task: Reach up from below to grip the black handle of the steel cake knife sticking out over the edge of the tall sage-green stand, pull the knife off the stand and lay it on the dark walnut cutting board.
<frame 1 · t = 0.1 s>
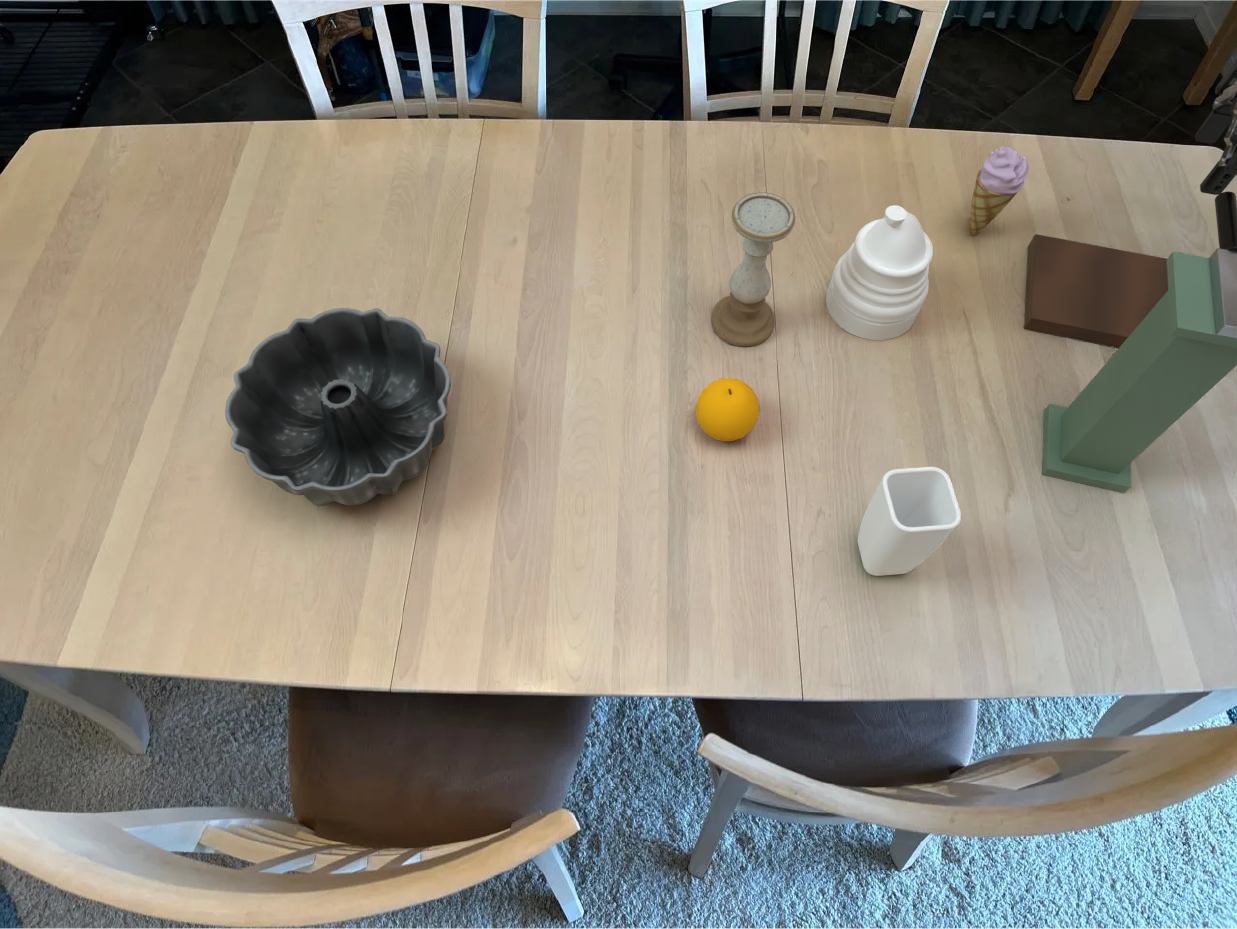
hand: (1206, 165, 95), 26 cm above the table, tool pointing down, fingers open, 8 cm apart
bundt pan: (361, 436, 109), on the table
cup: (882, 554, 101), on the table
candle holder: (742, 323, 118), on the table
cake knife: (1225, 260, 84), point 29 cm above the table, touching stand
cutting board: (1098, 300, 119), on the table
ice cream cone: (972, 231, 126), on the table
orange: (724, 424, 109), on the table
honey pot: (871, 304, 119), on the table
stand: (1083, 450, 107), on the table
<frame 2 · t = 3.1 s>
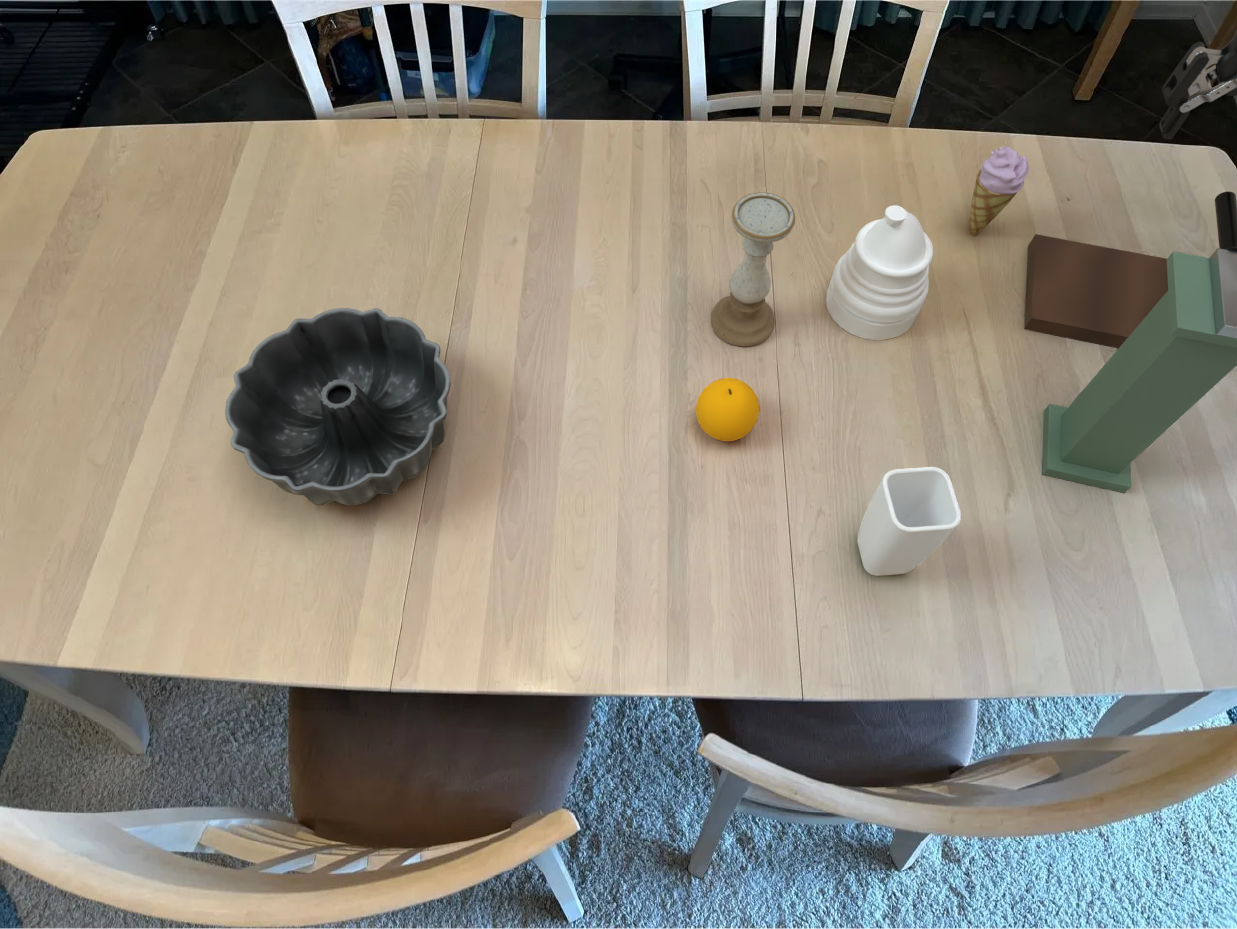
hand: (1204, 137, 95), 28 cm above the table, tool pointing down, fingers open, 8 cm apart
nothing on the table moved.
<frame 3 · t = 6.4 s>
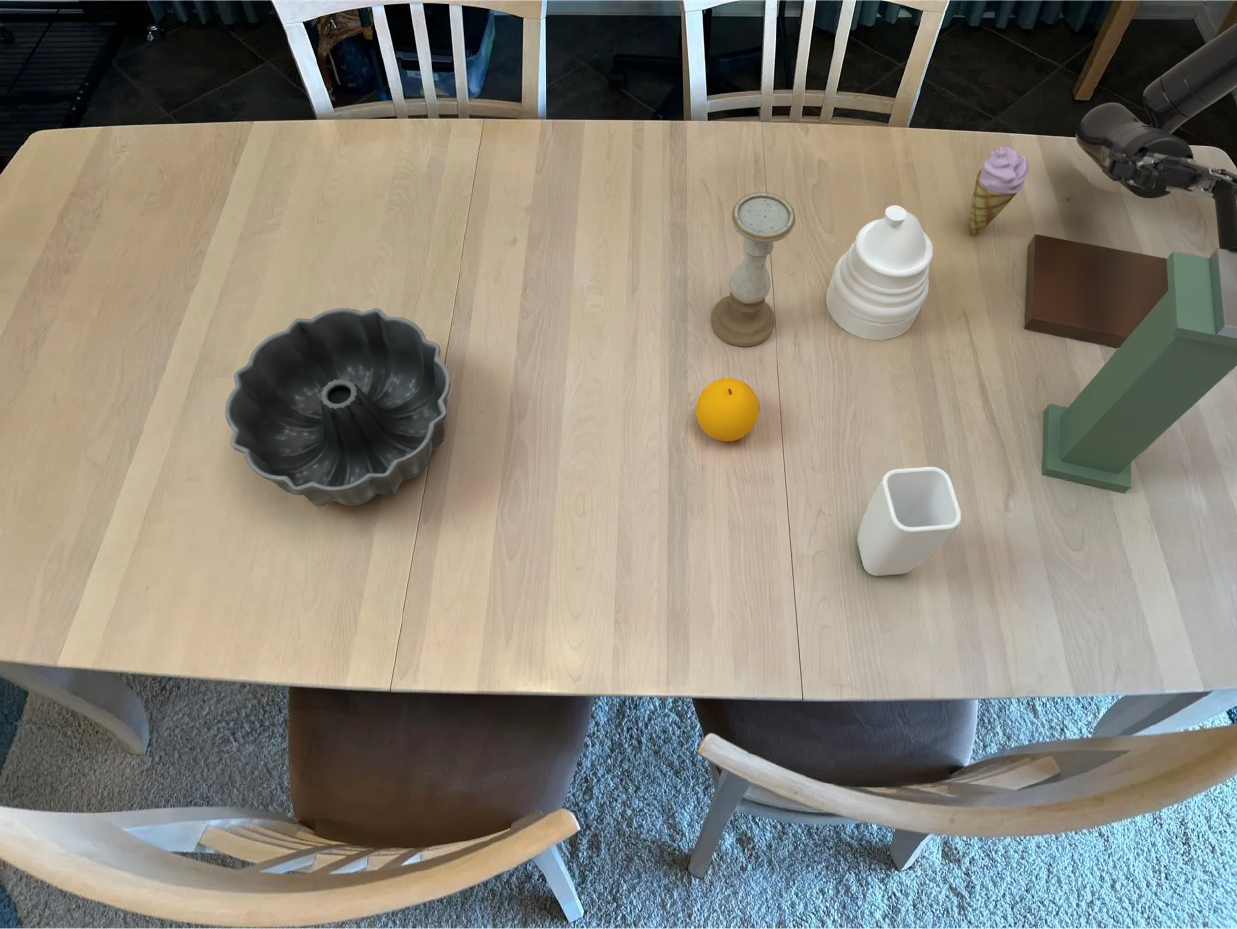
hand: (1192, 188, 94), 25 cm above the table, tool pointing upward, fingers open, 8 cm apart
nothing on the table moved.
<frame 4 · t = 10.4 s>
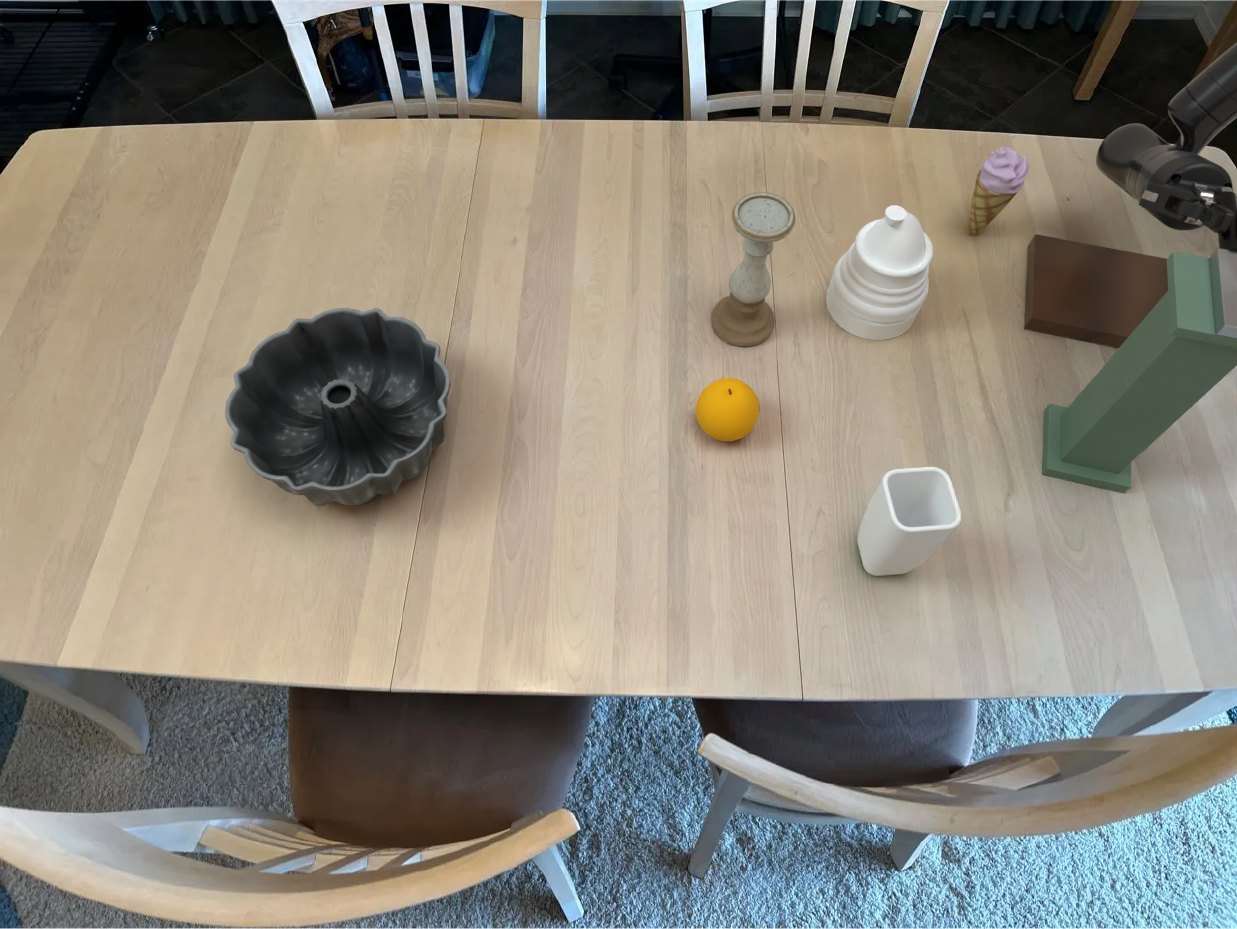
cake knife: (1225, 260, 84), point 30 cm above the table, touching gripper, stand
everything else where it was.
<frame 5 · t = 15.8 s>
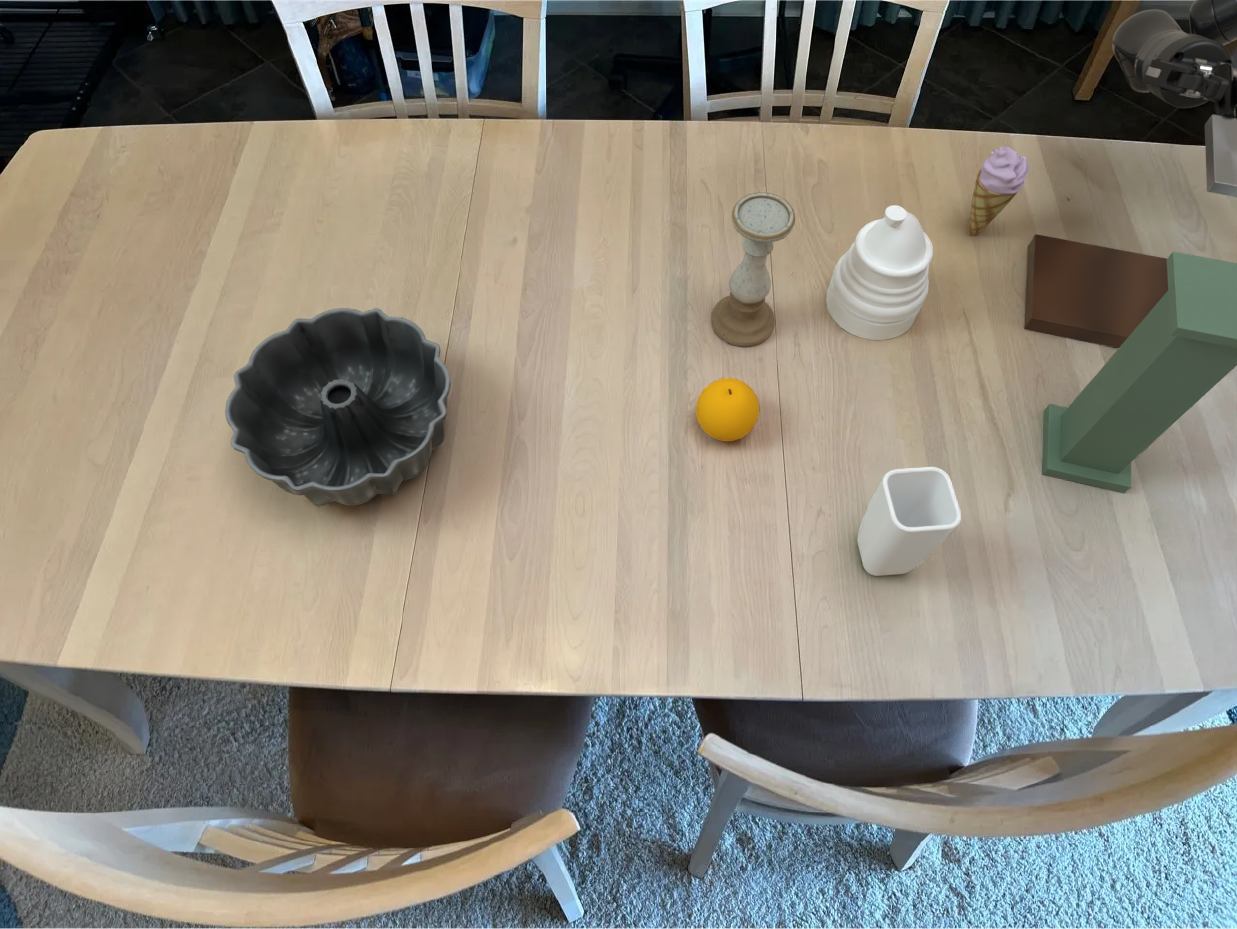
hand: (1233, 93, 90), 34 cm above the table, tool pointing upward, fingers closed on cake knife, 2 cm apart
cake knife: (1219, 127, 91), point 31 cm above the table, touching gripper
everything else where it was.
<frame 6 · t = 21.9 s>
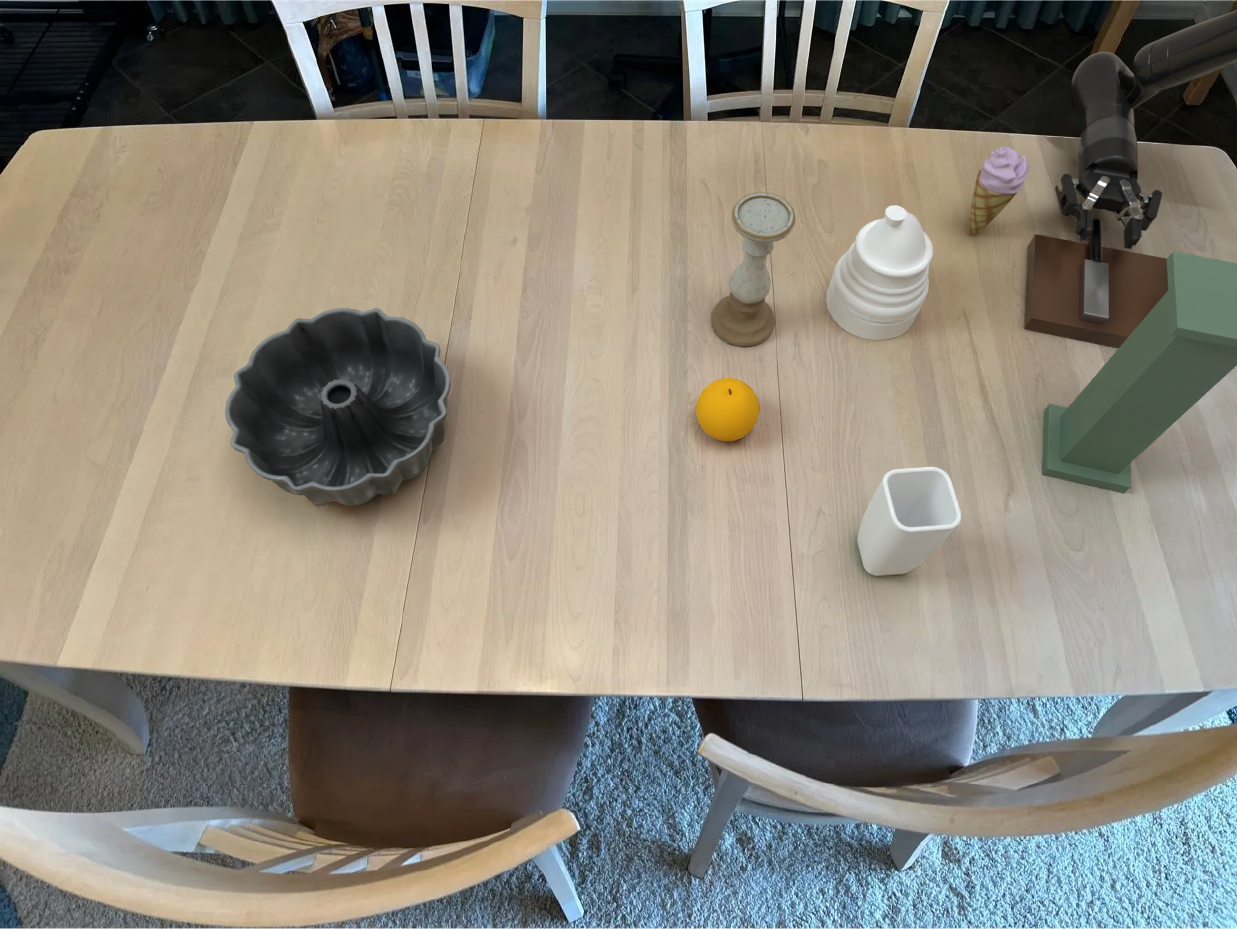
hand: (1108, 239, 115), 7 cm above the table, tool horizontal, fingers open, 5 cm apart
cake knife: (1091, 267, 119), point 2 cm above the table, touching cutting board
everything else where it was.
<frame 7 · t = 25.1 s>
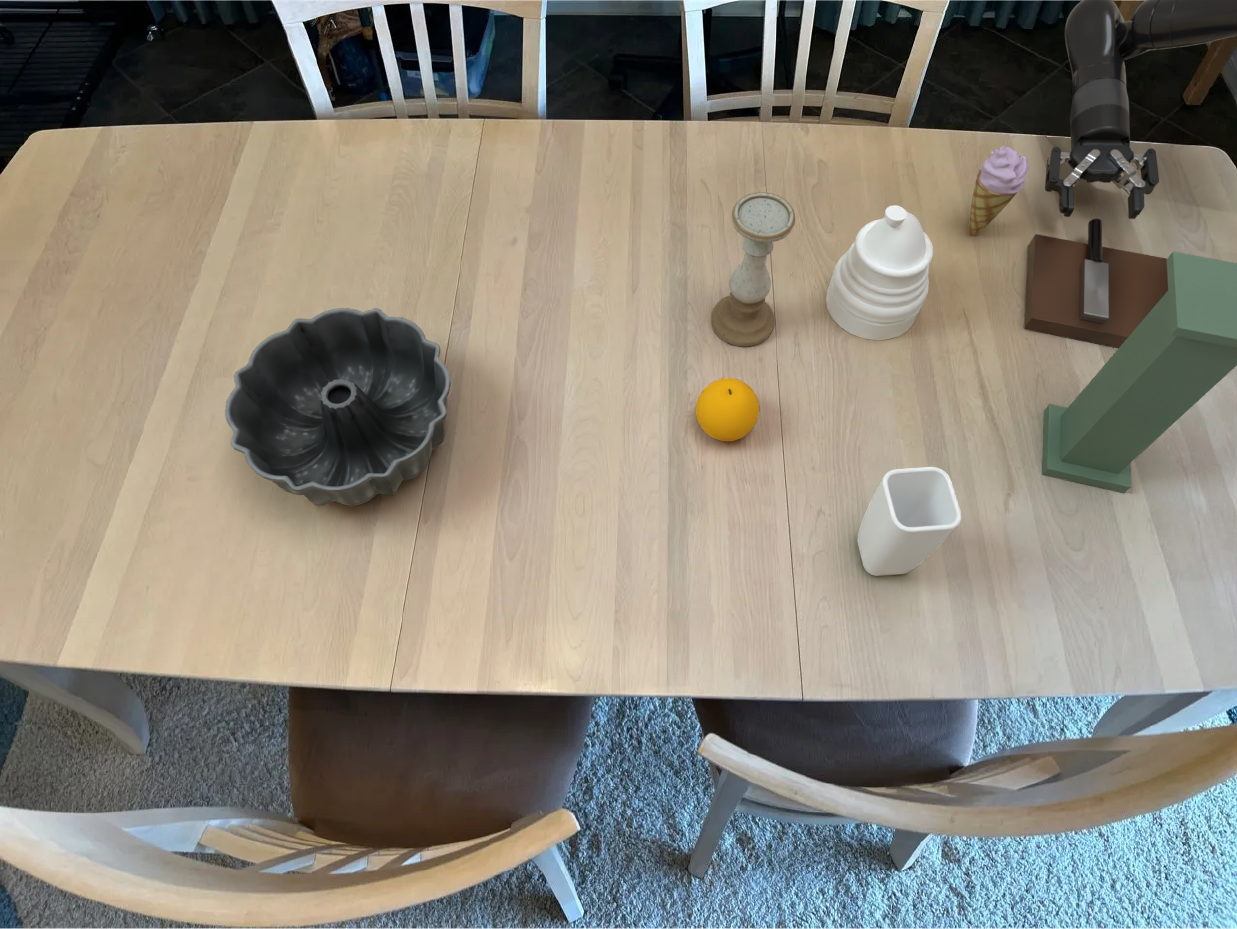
hand: (1101, 214, 119), 6 cm above the table, tool horizontal, fingers open, 8 cm apart
nothing on the table moved.
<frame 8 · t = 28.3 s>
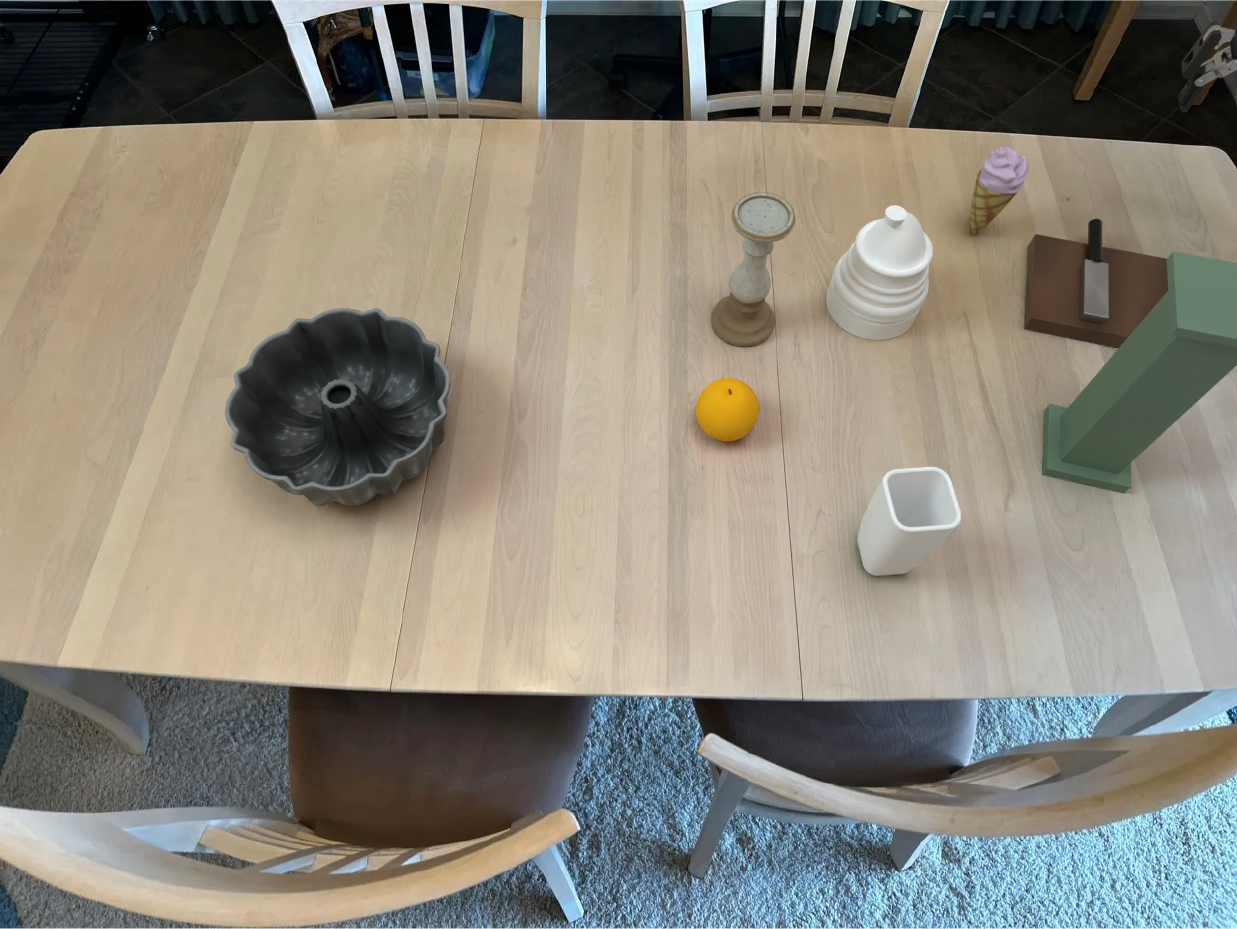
hand: (1218, 113, 105), 22 cm above the table, tool pointing down, fingers open, 8 cm apart
nothing on the table moved.
at the end: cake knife inside the target area on the cutting board (2.5 cm from its centre), point 2.5 cm above the cutting board's base; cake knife point 2.5 cm above the table; the gripper is holding nothing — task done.
